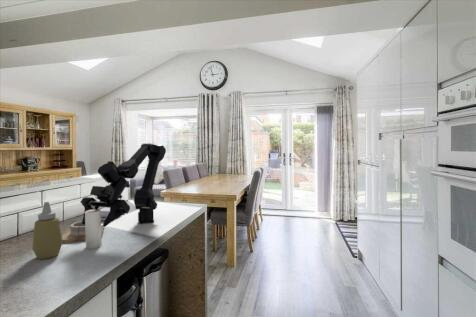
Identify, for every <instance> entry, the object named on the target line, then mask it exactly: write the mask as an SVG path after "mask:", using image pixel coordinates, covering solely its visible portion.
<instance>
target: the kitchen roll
mask: <svg viewBox="0 0 476 317" xmlns="http://www.w3.org/2000/svg"><path fill="white" fill-rule="evenodd" d="M101 225H102V220H101V210H100V209H97V210H88V211H86V212H85V234H86V240H85V249H86V250H95V249H98V248H100V247H102V238H101Z"/></svg>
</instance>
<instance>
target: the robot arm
mask: <svg viewBox="0 0 476 317" xmlns="http://www.w3.org/2000/svg"><path fill="white" fill-rule="evenodd" d="M166 152H167V150H166V147H165V146H164V145H162V144H158V145H157V144H153V143H142V144H141V145H140V147H139V148H138V150H136V152H134V154H133V155H132V156H131V157H130V158H129V159H128V160H125V161H123V162H121V163H120V164H119V165H118V166H116V164H115V162H114V161H112V160H110V161H107V163H103V164H102V165H101V166H99V167H98V169H97V173H98V174H99V176H100V177H101V178H102V179H103V181H105V182H106V183H107V184H108V183H109V185H107V184H106V185H105V186H98V185H93V186H92V187H91V190H90V193H89V194H90V195H91V196H95V197H96V199H97V200H96V199H95V198H94V197H90V196H89V197H88V196H87V197H86V196H84V197H83V198H82V199H81V201H80V204H81V206H83V207H84V212H83V217H82V220H81V221H82V224H85V212H86V211H88V210H99V208H105V207H108V208H110V212H109V214H108V216H107V217H106V219H105V220H103V223H102V225H103V226H104V228H105V227H107V226H108V225H110V224H111V223H112V222H113V221H114V222H115V220H116V219H118V218H120V217H121V216H124V215H125V214H129V212H130V210H131V206H130V205H129V204H128V203H127V201H126V200H125V199H122V198H123V195H122V194H123V192H124V191H125V188H129V189H130V187H131V185H130V181H129V180H127V179H131V180H132V179H134V178H135V177H136V176H137V173H139V166H141V164H142V163H143V161H144V160H146V159H147V158H148V164H147V167H146V170H145V174H144V178H143V180H142V185H141V187H140V188H139V189H136V190H135V194H134V196H133V198H134V199H133V203H134V204H133V205H134V207H135V210H139V211H138V213H137V221H138V222H139V224H149V223H154V222H155V220H154V210H156V209H157V207H158V203H157V201H155V199H154V198H155V194H154V191H153V187H154V183H155V180H156V176H157V171H158V169H159V164H160V162H161V161H162V160H164V158H165V155H166ZM98 200H99V201H98Z"/></svg>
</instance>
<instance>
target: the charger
mask: <svg viewBox="0 0 476 317" xmlns="http://www.w3.org/2000/svg"><path fill="white" fill-rule="evenodd" d="M99 210H101V221H105V219H106V217H107V216H108V214H109V212H110V208H108V207H101V209H99Z"/></svg>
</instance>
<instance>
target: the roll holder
mask: <svg viewBox="0 0 476 317" xmlns="http://www.w3.org/2000/svg"><path fill="white" fill-rule="evenodd" d="M104 230H105V227H104V226H103V224H101V239H102V238H103V235H104ZM61 236H62V244H65V243H67V244H68V243H75V242H83V241H86V234H85V224H82V220H81V221H75V222H73V223H71V224H70V226H69V228H67V229H66V230H65V232H64V233H63V235H61Z"/></svg>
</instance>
